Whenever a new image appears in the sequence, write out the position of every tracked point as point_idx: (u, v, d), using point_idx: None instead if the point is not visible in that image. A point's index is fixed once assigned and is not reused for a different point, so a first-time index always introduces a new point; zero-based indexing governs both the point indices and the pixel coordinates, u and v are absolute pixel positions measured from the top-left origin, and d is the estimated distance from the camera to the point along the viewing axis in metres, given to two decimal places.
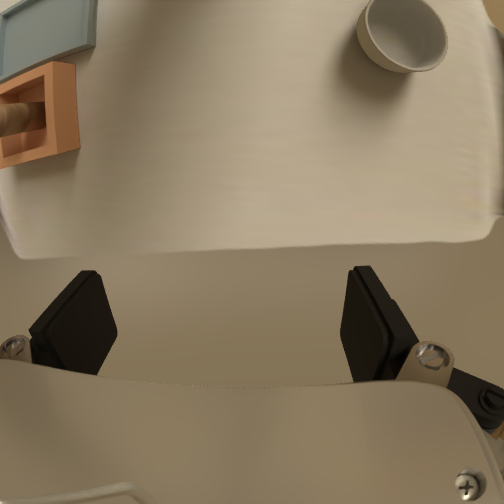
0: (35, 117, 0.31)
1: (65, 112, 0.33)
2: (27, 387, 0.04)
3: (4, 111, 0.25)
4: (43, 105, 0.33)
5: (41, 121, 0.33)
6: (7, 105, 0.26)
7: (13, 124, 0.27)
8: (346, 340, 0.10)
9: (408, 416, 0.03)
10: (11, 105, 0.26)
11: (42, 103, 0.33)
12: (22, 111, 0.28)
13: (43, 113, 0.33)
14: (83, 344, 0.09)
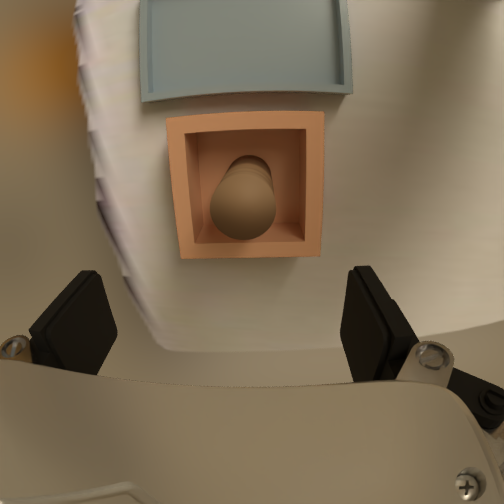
0: None
1: None
2: (27, 387, 0.04)
3: (273, 195, 0.20)
4: (267, 166, 0.28)
5: None
6: (261, 176, 0.21)
7: None
8: (346, 340, 0.10)
9: (408, 416, 0.03)
10: (263, 176, 0.22)
11: (263, 162, 0.28)
12: (272, 186, 0.24)
13: None
14: (83, 344, 0.09)
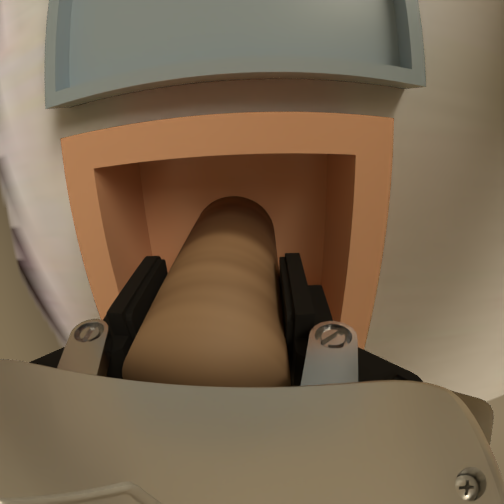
0: None
1: None
2: (27, 387, 0.04)
3: (285, 360, 0.07)
4: (268, 222, 0.15)
5: None
6: (254, 297, 0.08)
7: None
8: None
9: (408, 416, 0.03)
10: (259, 286, 0.09)
11: (261, 213, 0.15)
12: (279, 290, 0.11)
13: None
14: None
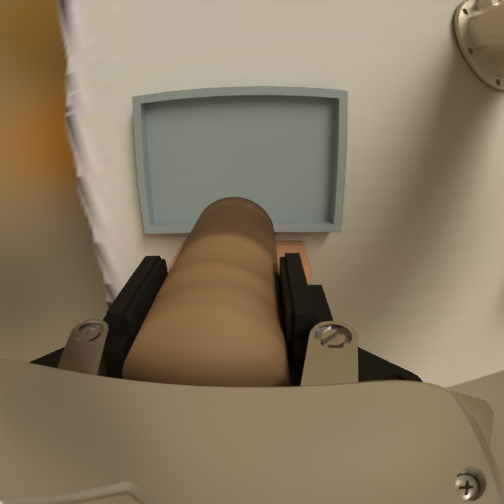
0: None
1: None
2: (27, 387, 0.04)
3: (285, 361, 0.07)
4: (268, 223, 0.15)
5: None
6: (254, 298, 0.08)
7: None
8: None
9: (408, 416, 0.03)
10: (259, 287, 0.09)
11: (261, 214, 0.15)
12: (279, 291, 0.11)
13: None
14: None
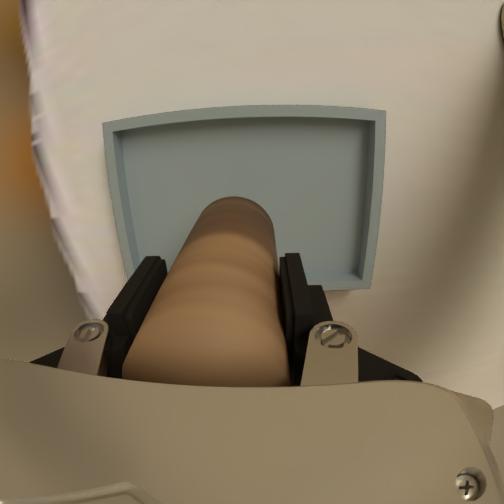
0: None
1: None
2: (27, 387, 0.04)
3: (285, 360, 0.07)
4: (268, 222, 0.15)
5: None
6: (254, 297, 0.08)
7: None
8: None
9: (408, 416, 0.03)
10: (259, 286, 0.09)
11: (261, 213, 0.15)
12: (279, 291, 0.11)
13: None
14: None
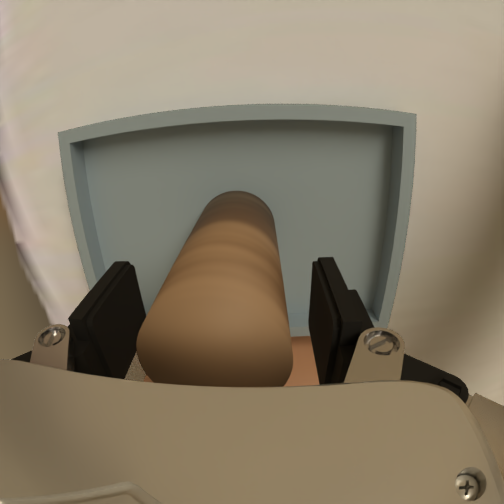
0: None
1: None
2: (27, 387, 0.04)
3: (287, 328, 0.08)
4: (269, 214, 0.16)
5: None
6: (258, 273, 0.09)
7: None
8: (312, 329, 0.11)
9: (408, 416, 0.03)
10: (262, 265, 0.10)
11: (262, 206, 0.16)
12: (280, 273, 0.12)
13: None
14: (119, 333, 0.09)
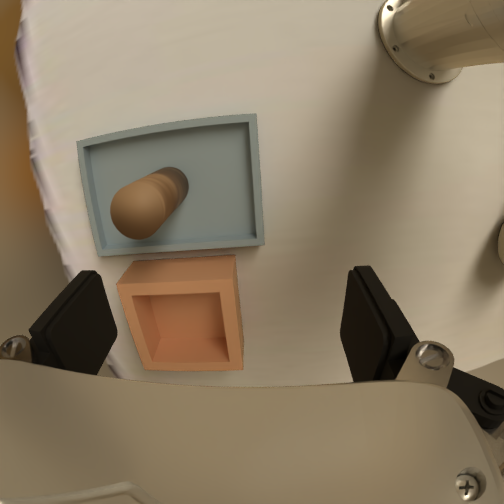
0: (181, 197, 0.29)
1: (239, 321, 0.37)
2: (27, 387, 0.04)
3: (160, 198, 0.23)
4: (181, 176, 0.31)
5: (182, 200, 0.31)
6: (155, 183, 0.24)
7: (167, 215, 0.25)
8: (346, 340, 0.10)
9: (408, 416, 0.03)
10: (159, 183, 0.24)
11: (178, 172, 0.31)
12: (172, 192, 0.26)
13: (185, 188, 0.31)
14: (83, 344, 0.09)
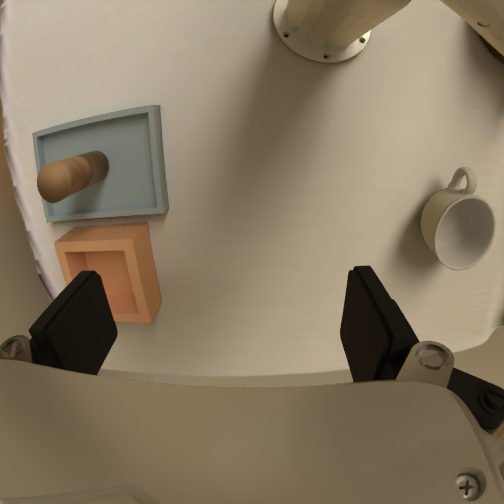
0: (95, 174, 0.34)
1: (149, 280, 0.42)
2: (27, 387, 0.04)
3: (67, 173, 0.28)
4: (101, 158, 0.36)
5: (100, 176, 0.36)
6: (67, 163, 0.28)
7: (76, 186, 0.30)
8: (346, 340, 0.10)
9: (408, 416, 0.03)
10: (71, 162, 0.29)
11: (99, 155, 0.36)
12: (84, 169, 0.31)
13: (102, 167, 0.36)
14: (83, 344, 0.09)
